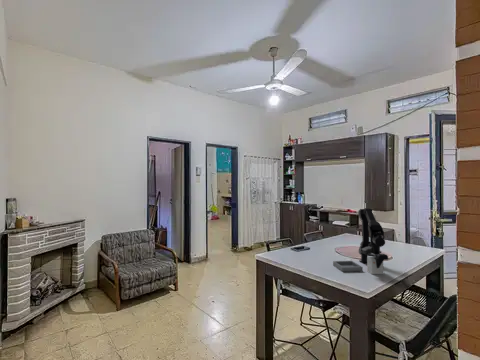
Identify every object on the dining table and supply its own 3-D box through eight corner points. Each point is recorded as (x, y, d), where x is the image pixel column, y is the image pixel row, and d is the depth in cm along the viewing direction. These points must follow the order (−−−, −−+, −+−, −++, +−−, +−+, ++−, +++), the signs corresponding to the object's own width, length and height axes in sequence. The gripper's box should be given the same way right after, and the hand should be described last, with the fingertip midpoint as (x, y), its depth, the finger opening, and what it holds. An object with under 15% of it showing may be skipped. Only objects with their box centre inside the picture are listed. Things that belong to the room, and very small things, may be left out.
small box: (378, 271, 174) (378, 255, 174) (383, 274, 168) (383, 257, 169) (367, 271, 174) (366, 255, 174) (371, 274, 168) (371, 258, 168)
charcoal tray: (333, 265, 187) (333, 261, 187) (352, 264, 188) (351, 260, 188) (342, 272, 173) (342, 267, 173) (362, 271, 174) (362, 267, 174)
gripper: (355, 240, 180) (356, 262, 180) (371, 246, 161) (371, 271, 161) (371, 239, 181) (371, 262, 181) (388, 246, 162) (388, 271, 162)
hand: (375, 266), depth 171 cm, fingers closed on small box, 6 cm apart
